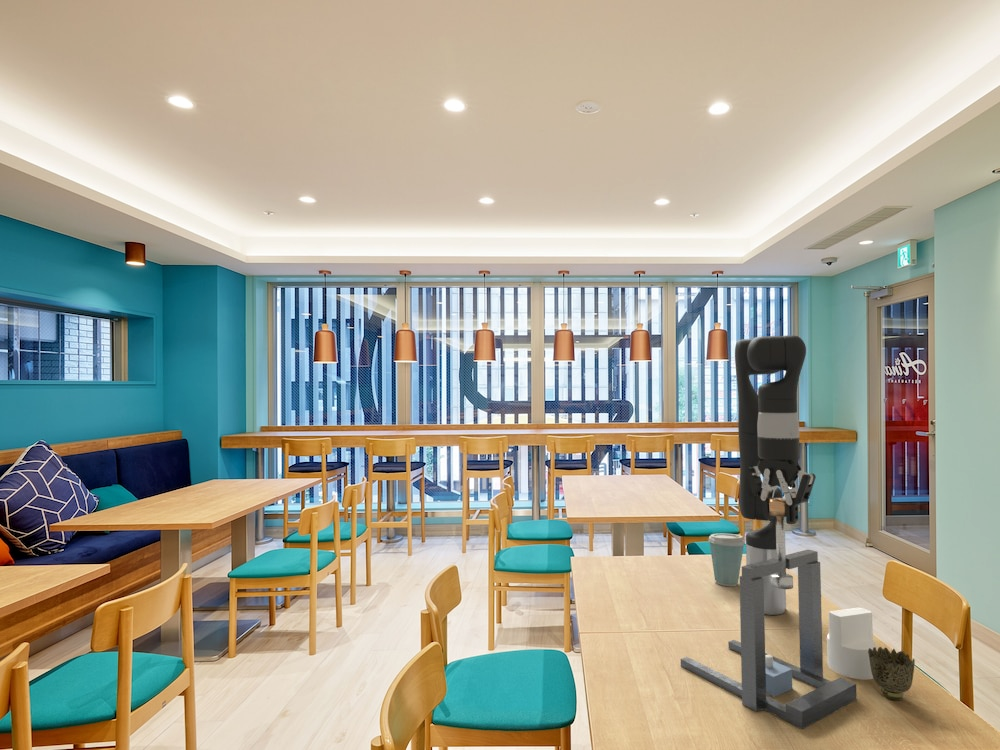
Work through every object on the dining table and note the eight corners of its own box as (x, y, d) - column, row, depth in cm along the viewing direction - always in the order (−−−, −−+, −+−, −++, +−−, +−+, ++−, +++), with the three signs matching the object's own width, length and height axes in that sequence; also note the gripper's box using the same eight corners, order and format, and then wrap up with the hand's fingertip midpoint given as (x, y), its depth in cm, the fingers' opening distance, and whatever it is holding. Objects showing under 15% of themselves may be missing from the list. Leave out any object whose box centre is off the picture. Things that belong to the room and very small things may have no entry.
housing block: (765, 676, 118) (764, 647, 118) (792, 689, 112) (791, 658, 113) (746, 684, 114) (746, 654, 115) (773, 697, 109) (773, 666, 110)
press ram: (778, 581, 114) (776, 497, 115) (797, 586, 111) (795, 500, 112) (766, 584, 112) (764, 499, 113) (785, 590, 109) (783, 502, 110)
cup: (924, 709, 105) (922, 665, 105) (879, 705, 106) (878, 662, 106) (903, 688, 112) (902, 647, 112) (862, 685, 113) (861, 644, 114)
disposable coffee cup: (701, 580, 177) (700, 532, 178) (726, 575, 182) (725, 528, 182) (727, 591, 167) (726, 540, 168) (753, 585, 172) (752, 536, 172)
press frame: (739, 644, 132) (737, 532, 133) (862, 696, 109) (858, 561, 110) (674, 668, 121) (672, 546, 122) (795, 732, 98) (791, 581, 99)
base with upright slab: (853, 682, 115) (851, 622, 115) (817, 662, 123) (816, 606, 124) (887, 676, 117) (886, 617, 117) (850, 656, 126) (848, 602, 126)
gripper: (824, 436, 109) (826, 526, 108) (757, 432, 121) (759, 512, 120) (801, 438, 105) (804, 531, 104) (735, 434, 117) (736, 517, 116)
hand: (780, 521), depth 112 cm, fingers closed on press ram, 4 cm apart
